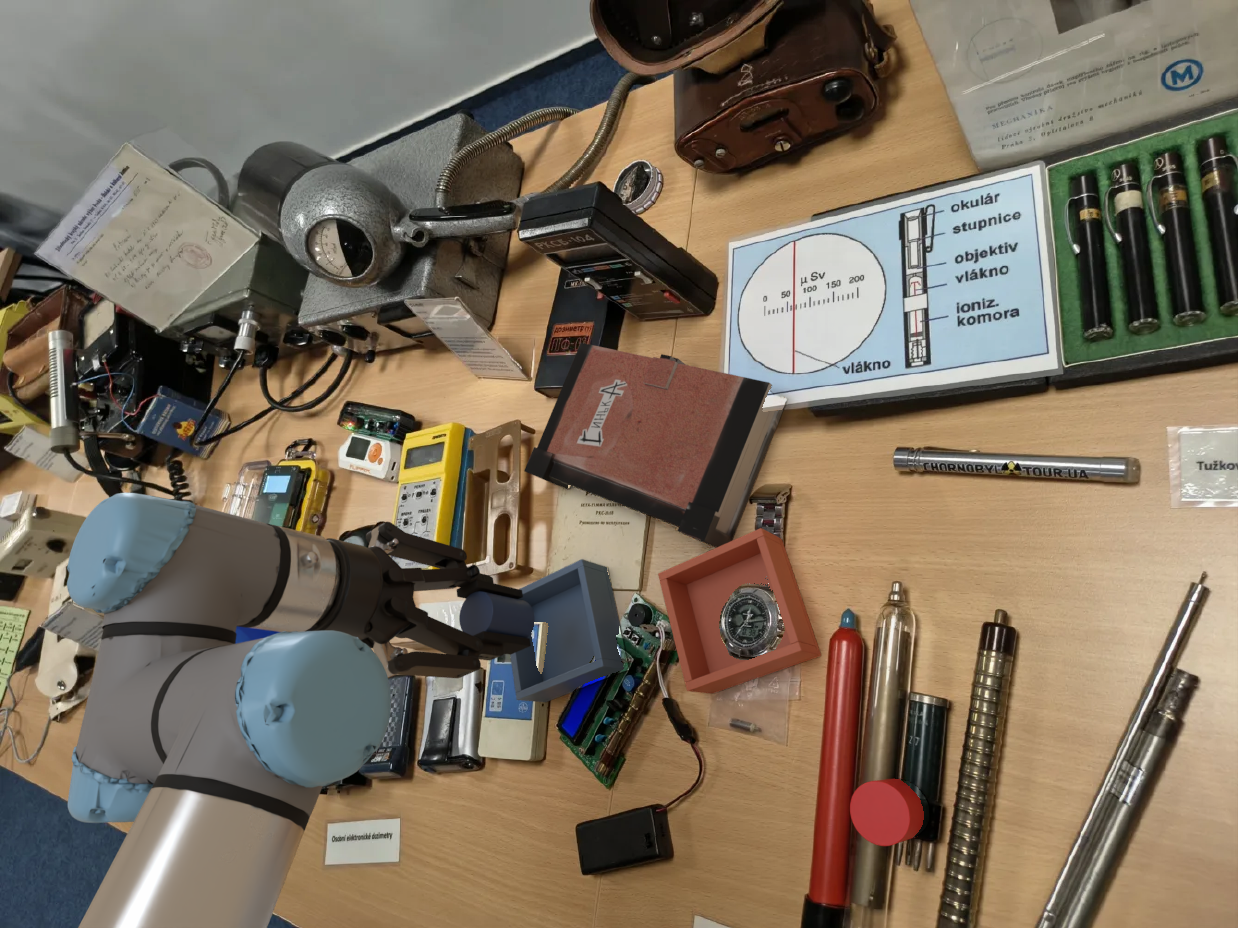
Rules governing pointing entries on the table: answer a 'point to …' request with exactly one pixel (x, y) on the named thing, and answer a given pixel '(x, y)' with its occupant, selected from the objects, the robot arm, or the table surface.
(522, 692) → the blue bin
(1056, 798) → the table surface
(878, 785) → the red canister
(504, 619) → the blue canister
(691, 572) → the red bin
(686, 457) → the book
